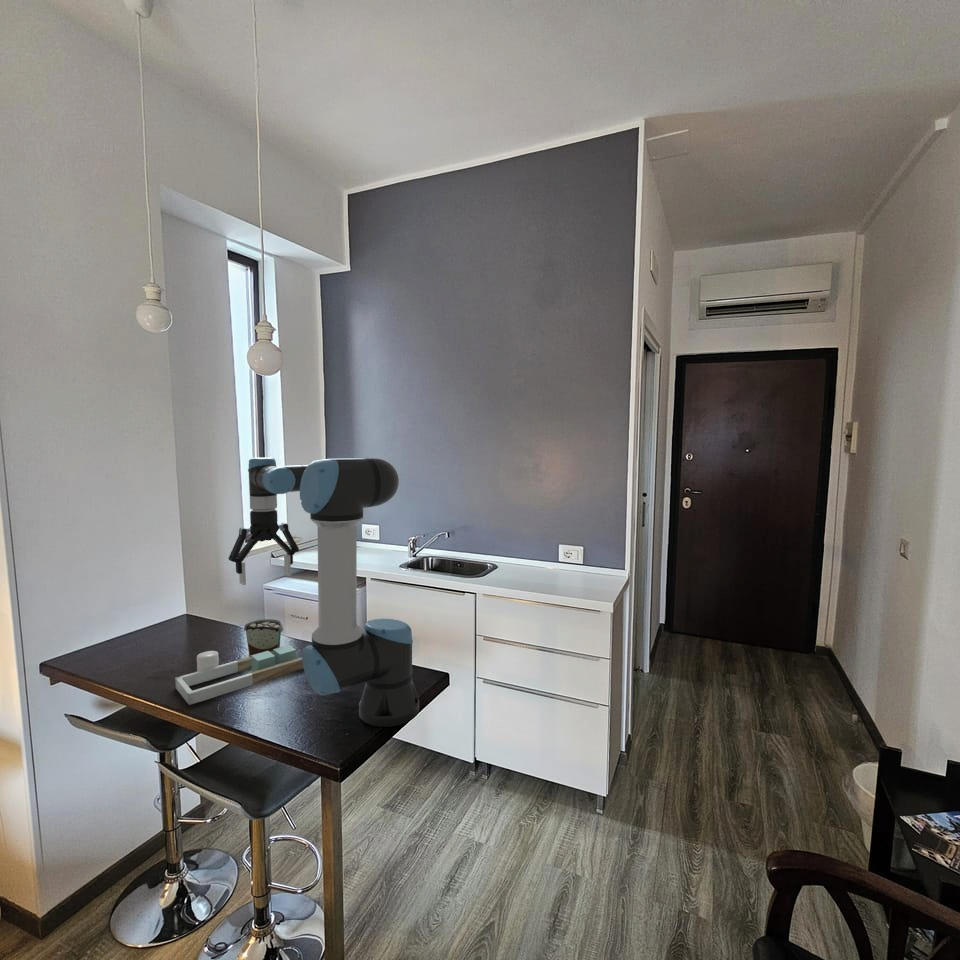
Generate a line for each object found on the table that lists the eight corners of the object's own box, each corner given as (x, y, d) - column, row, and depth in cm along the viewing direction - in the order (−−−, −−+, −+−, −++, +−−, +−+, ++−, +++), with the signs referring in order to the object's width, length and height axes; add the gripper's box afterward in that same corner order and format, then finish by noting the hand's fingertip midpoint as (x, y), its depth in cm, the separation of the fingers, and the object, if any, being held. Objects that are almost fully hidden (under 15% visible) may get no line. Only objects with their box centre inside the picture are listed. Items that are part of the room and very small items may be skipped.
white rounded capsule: (221, 675, 155) (221, 655, 155) (200, 681, 151) (200, 660, 151) (215, 668, 159) (214, 649, 159) (195, 674, 155) (194, 654, 155)
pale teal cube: (275, 672, 157) (275, 655, 157) (258, 677, 154) (257, 660, 153) (268, 666, 161) (268, 650, 160) (251, 671, 157) (251, 655, 157)
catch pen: (252, 684, 149) (252, 674, 149) (189, 705, 138) (188, 694, 138) (236, 670, 158) (236, 660, 158) (175, 688, 147) (175, 677, 147)
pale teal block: (296, 665, 162) (296, 649, 161) (280, 670, 158) (280, 654, 158) (289, 660, 165) (289, 644, 165) (273, 665, 162) (273, 649, 161)
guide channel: (309, 666, 161) (309, 657, 161) (252, 684, 149) (252, 674, 149) (292, 654, 170) (292, 645, 169) (236, 670, 158) (236, 660, 158)
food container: (290, 649, 174) (289, 619, 173) (281, 657, 168) (281, 626, 167) (254, 647, 175) (253, 617, 174) (244, 655, 169) (243, 624, 168)
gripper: (297, 504, 170) (299, 569, 172) (214, 512, 152) (217, 585, 154) (308, 506, 164) (310, 574, 166) (224, 515, 147) (227, 590, 149)
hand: (265, 579), depth 160 cm, fingers open, 13 cm apart
